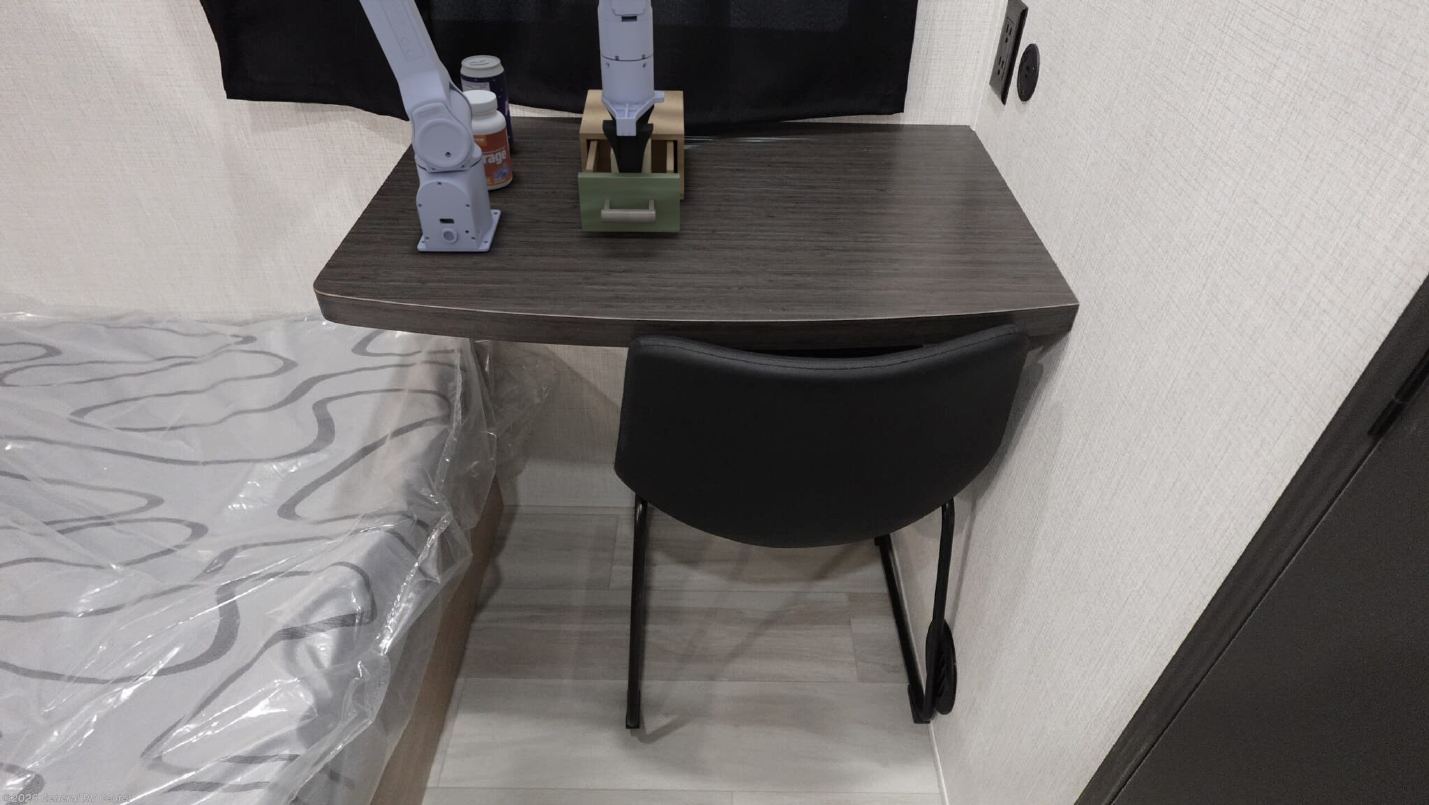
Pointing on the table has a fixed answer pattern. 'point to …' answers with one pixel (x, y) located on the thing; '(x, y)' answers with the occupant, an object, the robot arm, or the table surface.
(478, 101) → the pill bottle
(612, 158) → the block
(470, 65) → the beverage can
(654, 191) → the drawer
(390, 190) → the table surface
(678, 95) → the cabinet
